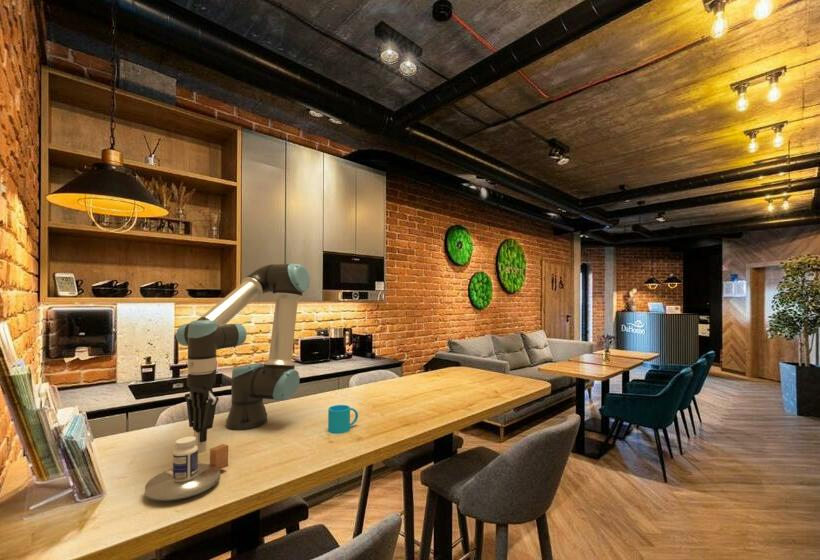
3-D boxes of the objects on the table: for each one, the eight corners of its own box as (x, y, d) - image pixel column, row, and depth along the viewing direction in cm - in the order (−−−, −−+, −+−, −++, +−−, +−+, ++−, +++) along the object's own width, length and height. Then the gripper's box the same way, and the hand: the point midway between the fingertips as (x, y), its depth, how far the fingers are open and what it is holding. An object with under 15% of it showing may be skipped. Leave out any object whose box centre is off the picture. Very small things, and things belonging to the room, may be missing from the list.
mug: (333, 435, 136) (333, 412, 136) (324, 428, 142) (324, 407, 143) (362, 428, 143) (362, 406, 143) (353, 422, 149) (353, 402, 150)
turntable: (130, 490, 95) (131, 467, 95) (206, 459, 113) (207, 439, 113) (169, 508, 87) (170, 482, 87) (244, 471, 105) (245, 450, 105)
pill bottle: (192, 470, 103) (193, 433, 103) (201, 476, 99) (202, 438, 100) (169, 478, 98) (169, 440, 99) (177, 485, 95) (178, 445, 95)
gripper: (176, 372, 111) (174, 452, 110) (203, 376, 105) (201, 461, 104) (200, 368, 118) (198, 443, 117) (227, 371, 112) (225, 451, 111)
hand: (200, 452), depth 111 cm, fingers closed
